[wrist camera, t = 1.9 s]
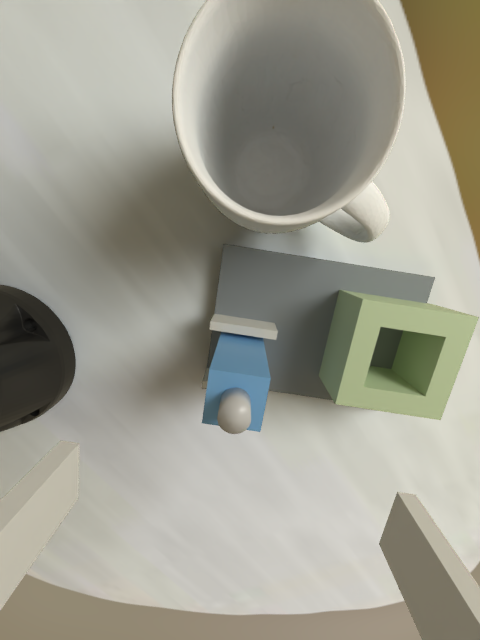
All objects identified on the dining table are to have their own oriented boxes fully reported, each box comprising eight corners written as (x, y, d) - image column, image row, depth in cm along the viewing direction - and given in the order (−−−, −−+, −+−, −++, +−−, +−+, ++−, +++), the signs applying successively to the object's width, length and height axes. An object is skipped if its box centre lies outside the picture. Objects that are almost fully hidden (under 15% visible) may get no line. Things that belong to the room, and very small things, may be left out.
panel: (207, 374, 30) (200, 395, 26) (224, 244, 27) (220, 242, 23) (385, 401, 31) (408, 426, 26) (425, 276, 27) (459, 280, 23)
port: (318, 375, 28) (335, 404, 23) (339, 289, 26) (363, 299, 21) (404, 388, 29) (440, 420, 23) (431, 304, 26) (478, 317, 21)
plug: (217, 364, 28) (196, 442, 17) (222, 327, 27) (204, 383, 16) (255, 370, 28) (261, 452, 17) (262, 333, 27) (273, 393, 16)
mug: (384, 188, 25) (521, 124, 13) (308, 285, 28) (361, 312, 15) (254, 79, 24) (262, -121, 11) (185, 192, 26) (126, 135, 13)
